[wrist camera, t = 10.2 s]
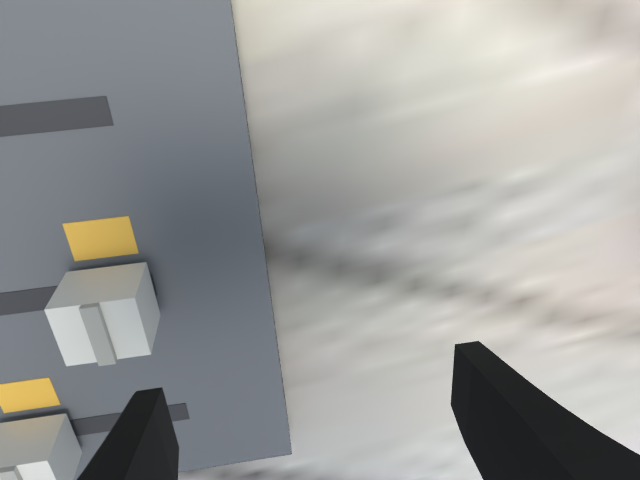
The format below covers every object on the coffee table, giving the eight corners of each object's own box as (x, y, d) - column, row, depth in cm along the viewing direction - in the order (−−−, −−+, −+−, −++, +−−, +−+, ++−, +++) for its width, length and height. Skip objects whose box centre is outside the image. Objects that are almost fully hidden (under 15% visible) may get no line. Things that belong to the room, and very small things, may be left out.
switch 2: (160, 314, 21) (149, 359, 19) (84, 324, 21) (64, 371, 18) (146, 261, 20) (133, 301, 17) (66, 271, 20) (41, 314, 17)
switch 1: (82, 452, 24) (64, 506, 21) (14, 462, 24) (-11, 518, 21) (66, 413, 23) (45, 466, 20) (-5, 423, 22) (-35, 478, 20)
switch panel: (289, 431, 28) (291, 454, 26) (-65, 486, 26) (-82, 515, 25) (226, -33, 17) (224, -33, 16) (-365, 13, 16) (-422, 17, 14)
